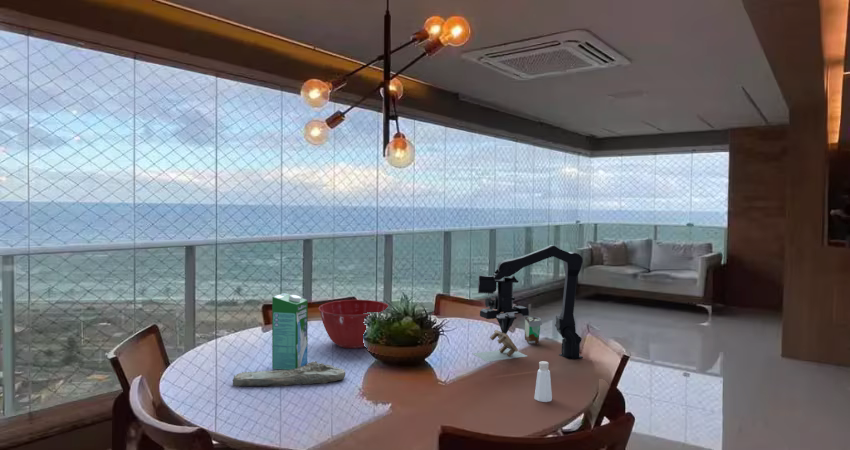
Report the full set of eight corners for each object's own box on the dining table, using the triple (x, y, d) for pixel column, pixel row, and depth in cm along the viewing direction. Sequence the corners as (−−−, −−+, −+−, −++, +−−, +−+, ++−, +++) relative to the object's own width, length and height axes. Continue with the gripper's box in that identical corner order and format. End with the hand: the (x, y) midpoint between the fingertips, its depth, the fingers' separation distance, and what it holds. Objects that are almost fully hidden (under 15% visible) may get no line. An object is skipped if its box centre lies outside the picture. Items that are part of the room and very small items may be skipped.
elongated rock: (236, 383, 173) (230, 395, 163) (235, 367, 173) (229, 379, 163) (345, 372, 179) (346, 384, 170) (344, 357, 179) (345, 367, 169)
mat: (528, 357, 201) (528, 356, 201) (486, 362, 193) (486, 361, 193) (511, 349, 211) (511, 348, 211) (471, 354, 203) (471, 353, 203)
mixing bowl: (384, 355, 201) (384, 314, 201) (309, 352, 203) (309, 312, 202) (393, 336, 229) (393, 300, 229) (327, 334, 231) (328, 299, 231)
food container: (544, 346, 216) (544, 321, 216) (529, 346, 217) (529, 321, 216) (538, 338, 229) (539, 315, 228) (524, 338, 229) (524, 315, 228)
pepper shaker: (539, 394, 162) (539, 358, 162) (555, 398, 159) (556, 361, 158) (530, 399, 158) (531, 362, 158) (547, 403, 155) (548, 366, 154)
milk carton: (296, 370, 182) (296, 297, 180) (272, 368, 183) (272, 296, 182) (307, 362, 190) (307, 293, 189) (284, 361, 192) (284, 292, 191)
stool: (518, 350, 200) (507, 334, 198) (511, 357, 199) (500, 342, 197) (506, 344, 207) (495, 329, 205) (499, 351, 206) (488, 336, 204)
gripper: (513, 289, 213) (513, 328, 213) (472, 291, 205) (472, 332, 206) (530, 293, 202) (529, 334, 203) (488, 296, 195) (487, 339, 195)
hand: (504, 334), depth 202 cm, fingers closed
